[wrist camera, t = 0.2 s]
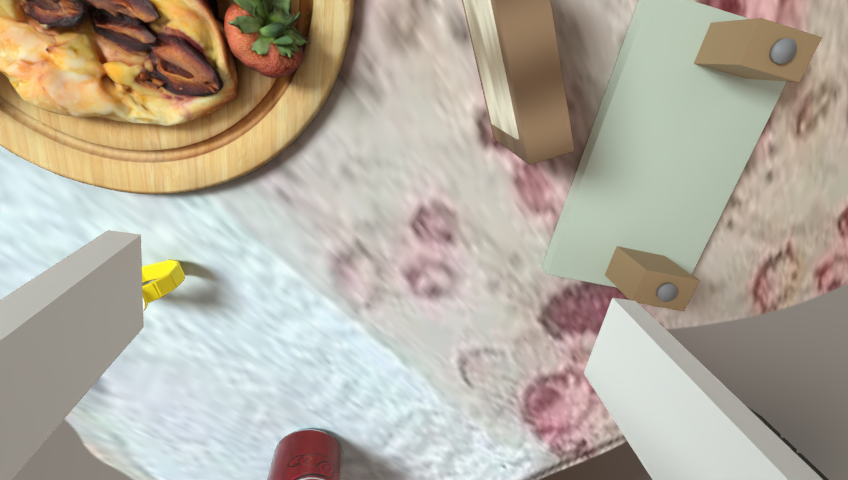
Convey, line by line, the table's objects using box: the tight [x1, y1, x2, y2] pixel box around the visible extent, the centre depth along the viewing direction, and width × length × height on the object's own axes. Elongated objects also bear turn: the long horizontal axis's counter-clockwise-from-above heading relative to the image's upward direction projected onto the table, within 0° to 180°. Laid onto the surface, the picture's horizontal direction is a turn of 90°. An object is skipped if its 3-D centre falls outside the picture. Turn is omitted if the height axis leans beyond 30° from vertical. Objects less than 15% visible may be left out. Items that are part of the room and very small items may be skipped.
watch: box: [142, 259, 185, 311], centre depth 38 cm, size 6×3×6 cm, turn 103°
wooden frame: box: [462, 0, 575, 165], centre depth 32 cm, size 13×3×10 cm, turn 16°
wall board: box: [542, 0, 822, 311], centre depth 38 cm, size 24×14×7 cm, turn 166°
